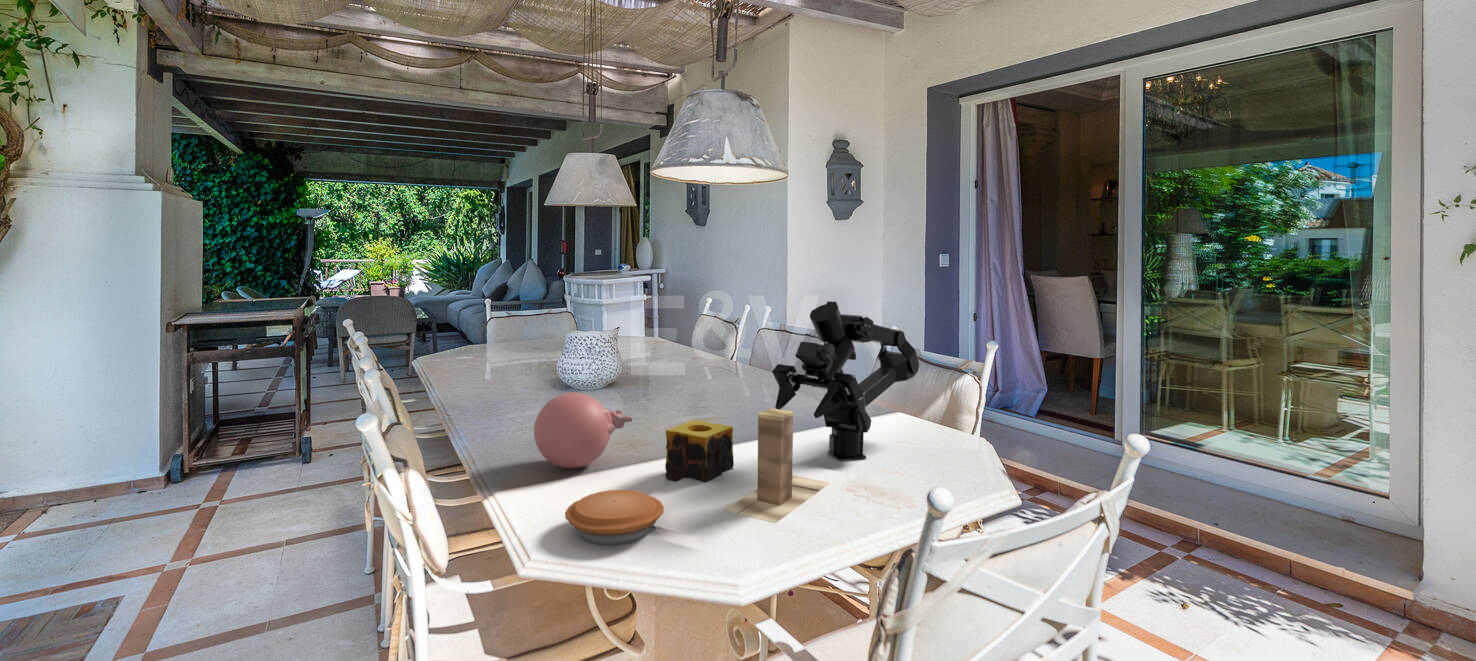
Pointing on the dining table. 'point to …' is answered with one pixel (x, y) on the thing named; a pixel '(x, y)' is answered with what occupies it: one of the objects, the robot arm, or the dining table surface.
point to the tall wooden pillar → (775, 456)
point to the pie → (614, 516)
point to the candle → (698, 451)
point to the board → (774, 513)
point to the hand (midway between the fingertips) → (795, 412)
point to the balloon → (575, 429)
